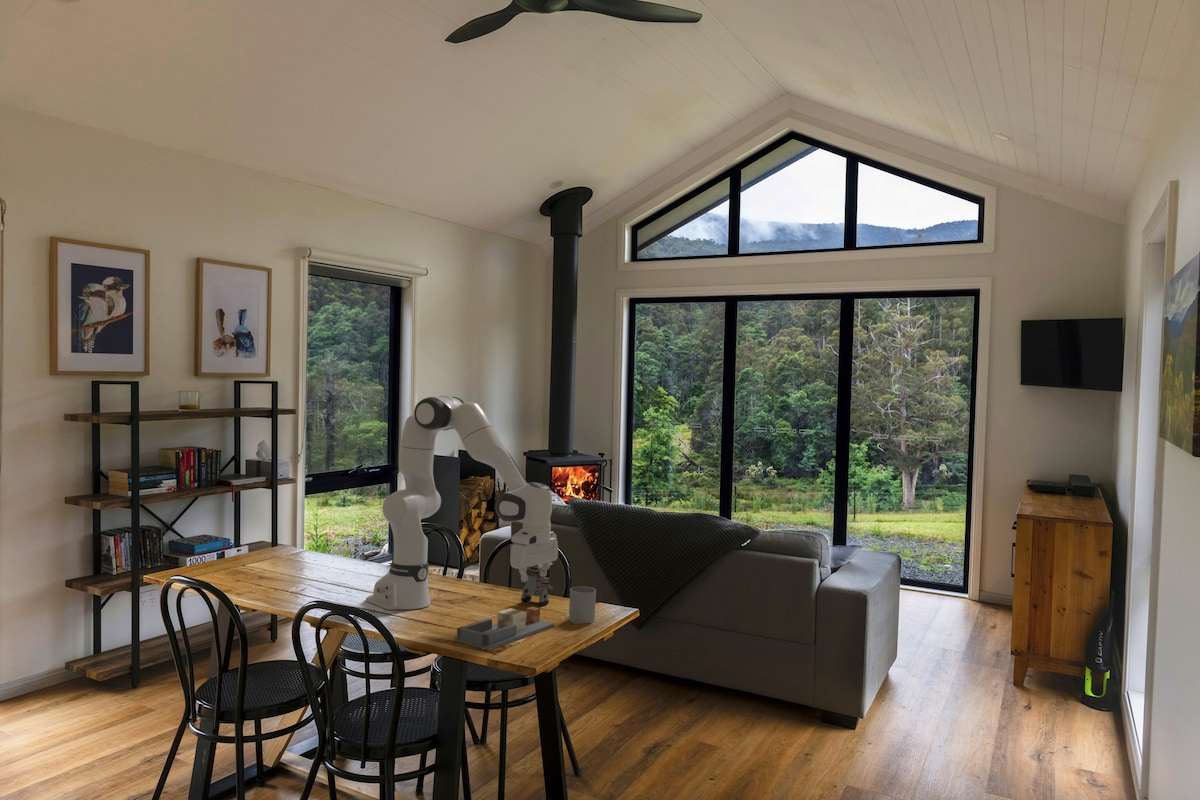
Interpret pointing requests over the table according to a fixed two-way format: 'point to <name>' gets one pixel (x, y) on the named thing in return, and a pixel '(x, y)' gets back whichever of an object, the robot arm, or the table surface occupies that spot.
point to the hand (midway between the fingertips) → (533, 578)
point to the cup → (582, 604)
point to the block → (518, 617)
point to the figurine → (536, 586)
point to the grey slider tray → (496, 633)
